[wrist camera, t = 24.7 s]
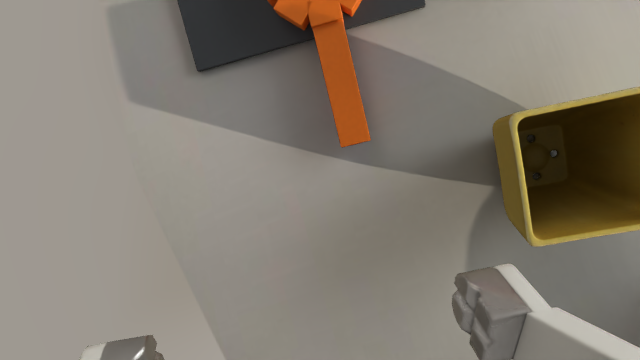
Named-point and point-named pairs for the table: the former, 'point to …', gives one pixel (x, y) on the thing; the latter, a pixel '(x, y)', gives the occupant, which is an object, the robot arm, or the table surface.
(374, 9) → the mat
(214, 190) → the table surface
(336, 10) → the orange ring
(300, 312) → the table surface
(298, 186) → the table surface
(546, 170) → the flower pot
